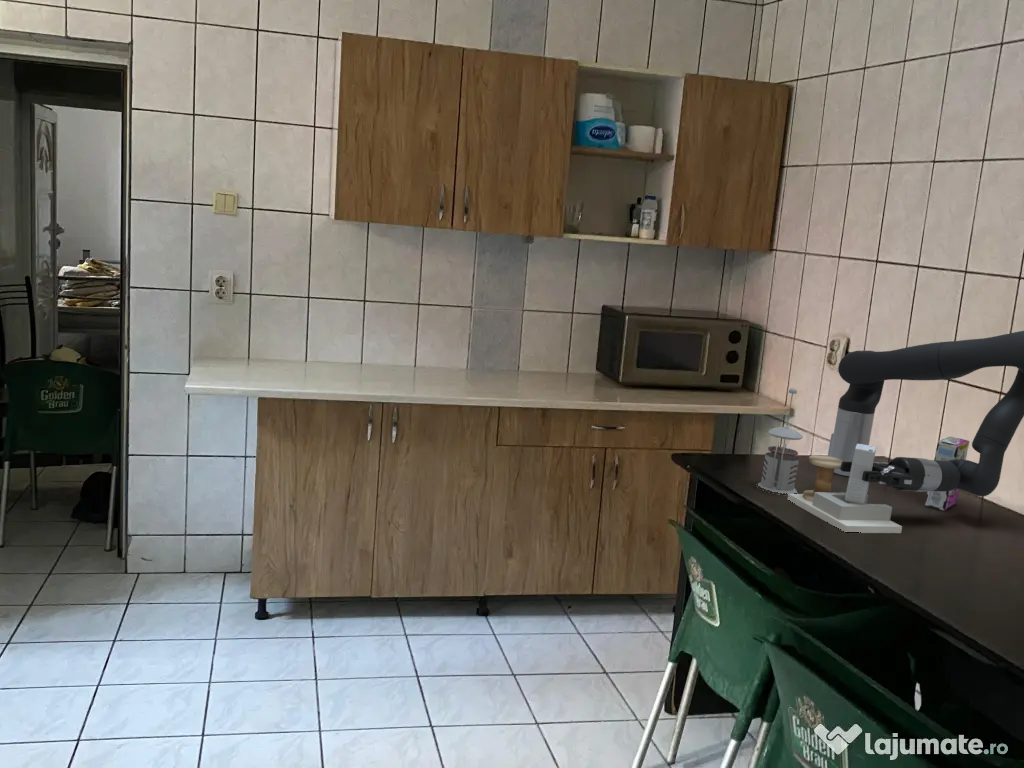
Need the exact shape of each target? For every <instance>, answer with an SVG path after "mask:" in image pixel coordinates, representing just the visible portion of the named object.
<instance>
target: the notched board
mask: <svg viewBox="0 0 1024 768" xmlns="http://www.w3.org/2000/svg"><path fill="white" fill-rule="evenodd" d="M845 496H846V492H837V491H836V492H814V497H813V502H811V501H808V500H806V499H804V498H803V493H797V494H788V495H787V501H788V500H790V501H791V502H790V501H789V502H790V503H792V502H793V504H794V503H795V504H794V505H796V506H797V507H799V508H800V509H803V510H804V511H806V512H808V513H810V514H812V515H813V516H815V517H817V518H818V519H821V520H822V521H823V522H826V523H827V522H828V524H829V525H831V526H833V527H834V526H835V528H836V527H837V528H836V529H838V528H839V529H838V530H840V529H841V530H840V531H841V532H843V531H844V532H843V533H845V532H859V533H858V534H902V532H903V531H902V529H903V526H902V525H900V524H899V523H896V522H895V521H892V520H891V517H892V512H893V511H892V510H893V506H891V505H888V504H885V503H869V497H870V495H868V494H867V497H866V500H865V503H864V504H860V503H854V502H850V501H846V500H845ZM860 532H861V533H860Z"/></svg>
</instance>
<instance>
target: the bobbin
mask: <svg viewBox="0 0 1024 768" xmlns="http://www.w3.org/2000/svg"><path fill="white" fill-rule="evenodd" d="M842 462H843V460H840V459H837V458H834V457H829V456H828V455H820V454H814V455H813V454H812V455H809V457H808V463H810V464H812V465H814V466H817V470H816V475H815V482H814V488H813V489H807V490H804V491H802V492H803V493H802V494H803V498H804V499H806V500H808V501H811V502H813V497H814V492H831V491H832V486H833V480H834V474H835V473H834V469H840V468H841V463H842Z"/></svg>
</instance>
